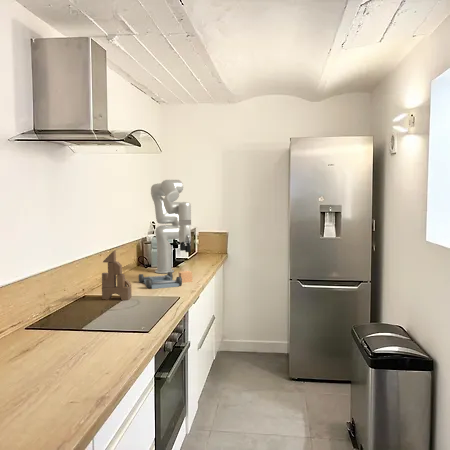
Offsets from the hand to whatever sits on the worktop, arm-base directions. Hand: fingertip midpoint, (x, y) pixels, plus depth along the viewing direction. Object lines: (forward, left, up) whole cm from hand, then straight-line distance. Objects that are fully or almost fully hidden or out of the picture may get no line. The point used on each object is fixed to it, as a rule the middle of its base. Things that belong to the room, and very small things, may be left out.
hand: (185, 251), depth 283 cm
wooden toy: (+27, -47, -19) cm, 57 cm away
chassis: (0, -16, -19) cm, 24 cm away
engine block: (0, 0, -19) cm, 19 cm away
